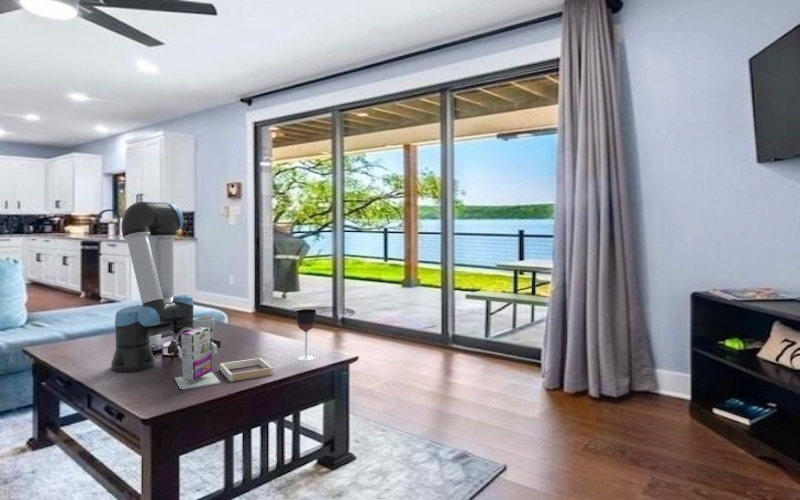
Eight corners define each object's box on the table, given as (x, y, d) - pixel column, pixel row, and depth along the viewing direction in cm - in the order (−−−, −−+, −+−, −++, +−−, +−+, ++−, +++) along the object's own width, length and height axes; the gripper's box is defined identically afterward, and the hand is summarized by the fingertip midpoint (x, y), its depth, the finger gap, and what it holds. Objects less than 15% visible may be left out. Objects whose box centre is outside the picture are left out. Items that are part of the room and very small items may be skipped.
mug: (210, 341, 238) (210, 320, 237) (179, 340, 238) (178, 320, 237) (218, 336, 248) (218, 316, 247) (188, 335, 248) (188, 315, 248)
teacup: (139, 346, 227) (139, 334, 227) (156, 343, 233) (156, 332, 233) (148, 350, 221) (148, 338, 220) (166, 347, 226) (166, 335, 226)
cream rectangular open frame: (229, 381, 180) (229, 374, 180) (219, 369, 193) (219, 363, 193) (273, 374, 188) (273, 367, 188) (260, 363, 202) (260, 357, 202)
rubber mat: (180, 389, 171) (180, 388, 171) (174, 379, 182) (174, 377, 181) (220, 383, 177) (220, 381, 177) (212, 373, 188) (212, 372, 188)
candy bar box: (200, 370, 185) (199, 326, 184) (212, 371, 184) (211, 327, 183) (181, 379, 174) (180, 333, 173) (194, 380, 173) (193, 334, 172)
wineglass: (319, 356, 213) (320, 310, 212) (307, 361, 205) (307, 313, 204) (304, 354, 217) (304, 308, 215) (292, 359, 209) (292, 311, 208)
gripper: (219, 344, 200) (232, 357, 182) (155, 352, 188) (162, 367, 169) (218, 326, 200) (232, 337, 181) (154, 332, 188) (162, 345, 169)
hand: (198, 352), depth 175 cm, fingers closed on candy bar box, 11 cm apart
